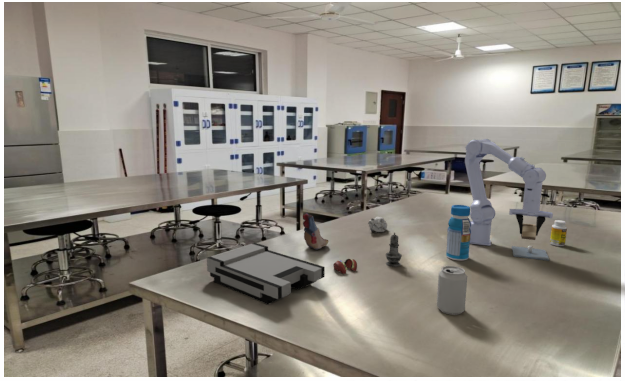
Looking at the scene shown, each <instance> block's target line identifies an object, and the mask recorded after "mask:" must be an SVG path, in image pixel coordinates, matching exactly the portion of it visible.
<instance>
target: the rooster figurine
mask: <svg viewBox="0 0 625 381" xmlns="http://www.w3.org/2000/svg"><path fill="white" fill-rule="evenodd" d="M302 218H303V219H304V221H303V222H302V225H303V227H304V229H303V231H304V232H303V239H304V241H305V244H306V245H307V246H308V248H310V249H314V250H320V249H322V247H325V246H327V245H328V243H329V239H326V238H324V237H323V236H321V232H320V228H319V227H317V225H316V222H315V219H314V216H313V215H312V214H309V213H308V212H305V213H304V214H303V215H302Z"/></svg>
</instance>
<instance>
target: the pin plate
mask: <svg viewBox="0 0 625 381" xmlns="http://www.w3.org/2000/svg"><path fill="white" fill-rule="evenodd" d="M511 250H512V255H513V257H515V258H522V259H523V258H525V259H533V260H538V261H539V260H540V261H548V262H549V261H550V258H549V255H548V254H547V251H546V249H541V248H540V249H539V248H533V245H528V246H527V247H523V246H515V245H512V246H511Z"/></svg>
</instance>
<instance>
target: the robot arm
mask: <svg viewBox="0 0 625 381" xmlns="http://www.w3.org/2000/svg"><path fill="white" fill-rule="evenodd" d="M464 148H465V152H466V153H465V158H464V164H465V165H464V166H465V168H466V173H467V179H468V181H469V187H470V192H471V196H472V203H471V204H470V206H469V207H470V216H469V217H470V219H471V220H470V222H471V227H470V229H471V235H470V244H471V245H480V246H488V247H489V246H492V241H491V231H492V222H493V220H494V219H495V217H496V210H495V208H494V207H493V204H492V202H491V201H490V200H489V199H488V197H487V193H486V189H485V188H486V187H485V183H484V179H483V175H482V170H481V166H480V165H481V164H480V162H481V161H482V159H483V158H484V157H486V156H487V155H492V156H493V157H496V158H498V159H499V160H500V161H502V162H504V163H505V164H507V167H508V169H509V170H510V171H511V172H513V173H515V174H516V175H517V176H519V177H520V178H522V180H523V181H524V191H523V192H524V193H523V199H522V200H523V201H522V202H523V203H522V209H521V208H509V213H508V214H509V215H511V216H513V215H515V218H516V220H517V223H518V227H519V235H521V234H522V225H523V223H524V216H527V217H536V222H535V225H536V227H537V229H536V237H538V234H539V231H540V229H541V227H542V226H543V225H544V223H545V221H546V218H549V219H553V216H554V213H553V212H552V211H551V212H549V211H544V210H540V209H541V208H540V207H541V201H542V200H541V199H542V191H543V190H542V189H543V182H544V181H545V180H546V177H547V174H546V171H545V170H544V169H543V168H542V167H535V164H531V163H529V162H527V161H526V160H525V158H524V157H523V156H521V157H520V156H513V155H512V154H510V153H509V152H508V151H506V150H504V149H503V148H501V147H500V146H499V145H498V144H496V142H494V141H491V139H488V138H482V139H475V138H474V139H471V140H470V141H469V142H468V143H467V144H466V146H465V147H464Z"/></svg>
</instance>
